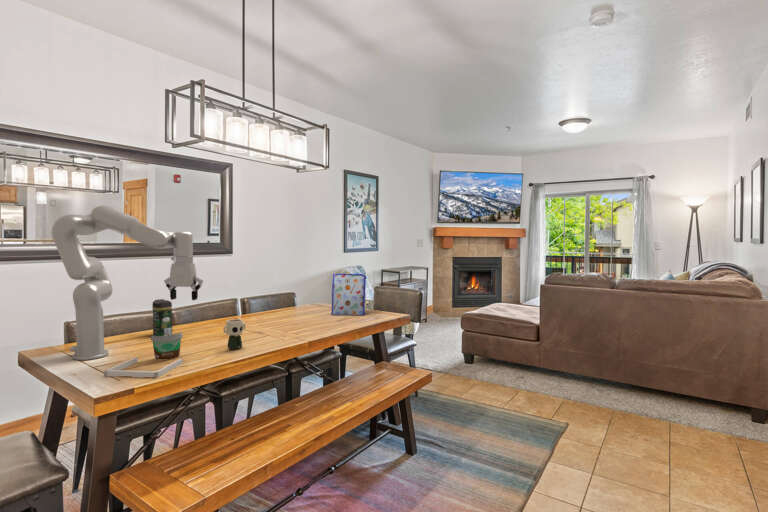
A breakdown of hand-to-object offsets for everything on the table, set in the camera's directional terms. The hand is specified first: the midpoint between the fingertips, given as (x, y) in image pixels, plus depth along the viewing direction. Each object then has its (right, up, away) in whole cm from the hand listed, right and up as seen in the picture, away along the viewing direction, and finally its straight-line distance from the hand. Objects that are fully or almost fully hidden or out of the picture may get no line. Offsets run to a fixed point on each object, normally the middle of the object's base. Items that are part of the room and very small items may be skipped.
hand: (184, 299), depth 182 cm
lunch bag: (+64, -20, +98) cm, 118 cm away
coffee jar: (-27, -22, +33) cm, 48 cm away
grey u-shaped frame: (-5, -25, -21) cm, 33 cm away
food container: (-3, -24, -6) cm, 25 cm away
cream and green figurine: (+19, -24, +10) cm, 32 cm away
